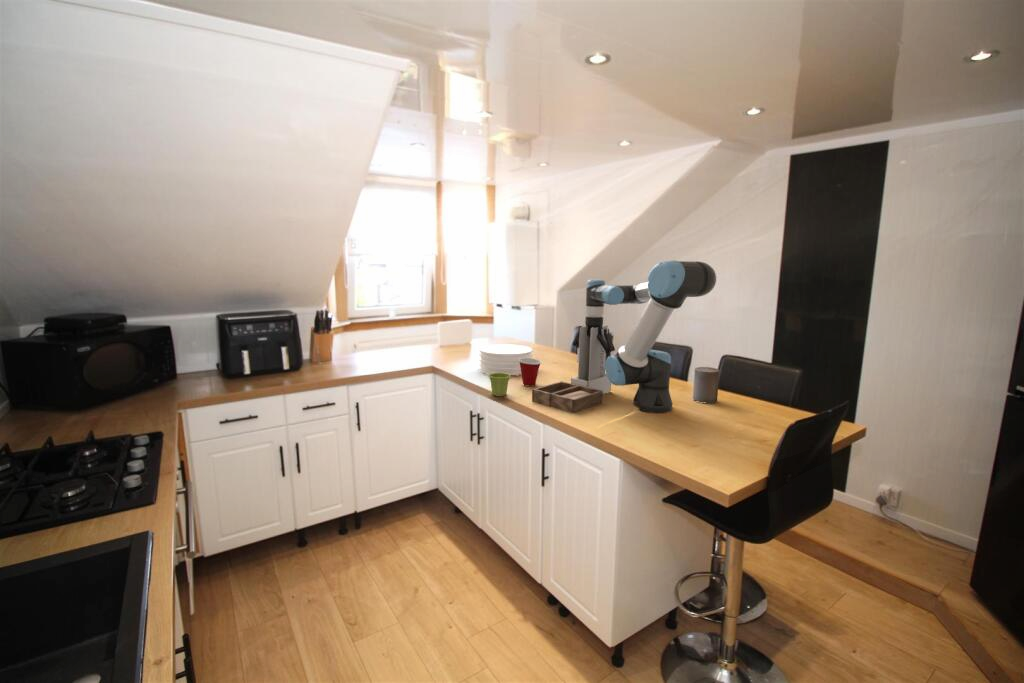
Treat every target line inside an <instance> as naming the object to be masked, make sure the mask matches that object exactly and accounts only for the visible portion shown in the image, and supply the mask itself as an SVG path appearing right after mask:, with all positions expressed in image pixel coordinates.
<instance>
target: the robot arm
mask: <svg viewBox="0 0 1024 683" xmlns="http://www.w3.org/2000/svg"><path fill="white" fill-rule="evenodd" d="M716 284H717V275H716V271H715V269H714V268H713V267H712V266H711V265H709V263H706V262H703V261H697V260H696V261H683V260H682V261H681V260H680V261H679V260H665V261H661V262H658V263H657V264H655V265H654V266H653V267H652V269H651V270H650V272H649V274H648V277H647V281H646V282H641V283H638V284H635V285H626V284H625V285H617V284H616V285H614V284H613V285H610V284H609V285H607V284H606V282H605V280H604V279H588V280H587V282H586V289H585V290H586V294H585V296H586V297H585V298H586V299H585V320H584V322H585V323H584V325H579V326H578V331H577V333H576V334H575V335H576V336H575V337H574V340H573V342H572V346H575V354H576V363H578V364H579V339H580V327H585V326H588V330H587V335H588V336H589V337H590V334H591V328H592V327H594V328H597V327H598V334H597V339H598V340H599V342H600V343H601V345H602V346H603V348H604V350H605V351H606V352H604V361H603V368H605V369H606V371H605V374H607V377H608V379H609V381H610V382H611V385H614V386H622V387H623V386H630V385H638V387H637V390H636V393H635V394H634V397H633V399H632V404H633V406H635V407H637V409H638V410H639V411H641V412H642V411H643V412H647V413H653V414H655V413H656V414H658V413H659V414H660V413H663V414H664V413H669V412H671V411H672V410H673V400H672V396H671V393H670V379H671V378H670V377H671V368H672V367H671V366H672V356H671V354H670V353H669V352H666V351H662V350H657V349H652V348H653V346H654V345H655V343H656V341H657V339H658V338H659V336H660V335H661V333H662V331H663V329H664V327H665V325H666V324H667V322H668V321H669V318H670V317H671V315H672V314H673V311H674V310H678V309H680V308H681V307H682V306H683V304H684V302H685V300H686V299H687V298H698V297H703V296H706V295H707V294H709V293H710V292H712V291H713V290H714V288H715V286H716ZM605 304H606V305H609V306H617V305H623V304H625V305H626V304H627V305H628V304H632V305H633V304H634V305H635V304H637V305H640V304H646V306H645V307H644V309H643V311H642V313H641V315H640V317H639V319H638V321H637V323H636V324H635V327H634V329H633V330H632V332H631V334H630V337H629V338H628V339H627V342H626V344H625V345H624V344H623V345H622V346H620V347H619V348H618V351H617V352H616V354H615V355H614V354H611V353H612V352H615V351H616V348H615V345H614V342H613V340H612V337H611V335H610V329H609V328H608V329H603V328H602V326H604V317H603V316H604V309H605V307H604V306H605ZM602 332H603V334H604V337H605V339H604V338H603V335H602ZM600 335H601V336H600ZM605 340H606V341H605ZM606 342H607V343H606Z"/></svg>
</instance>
